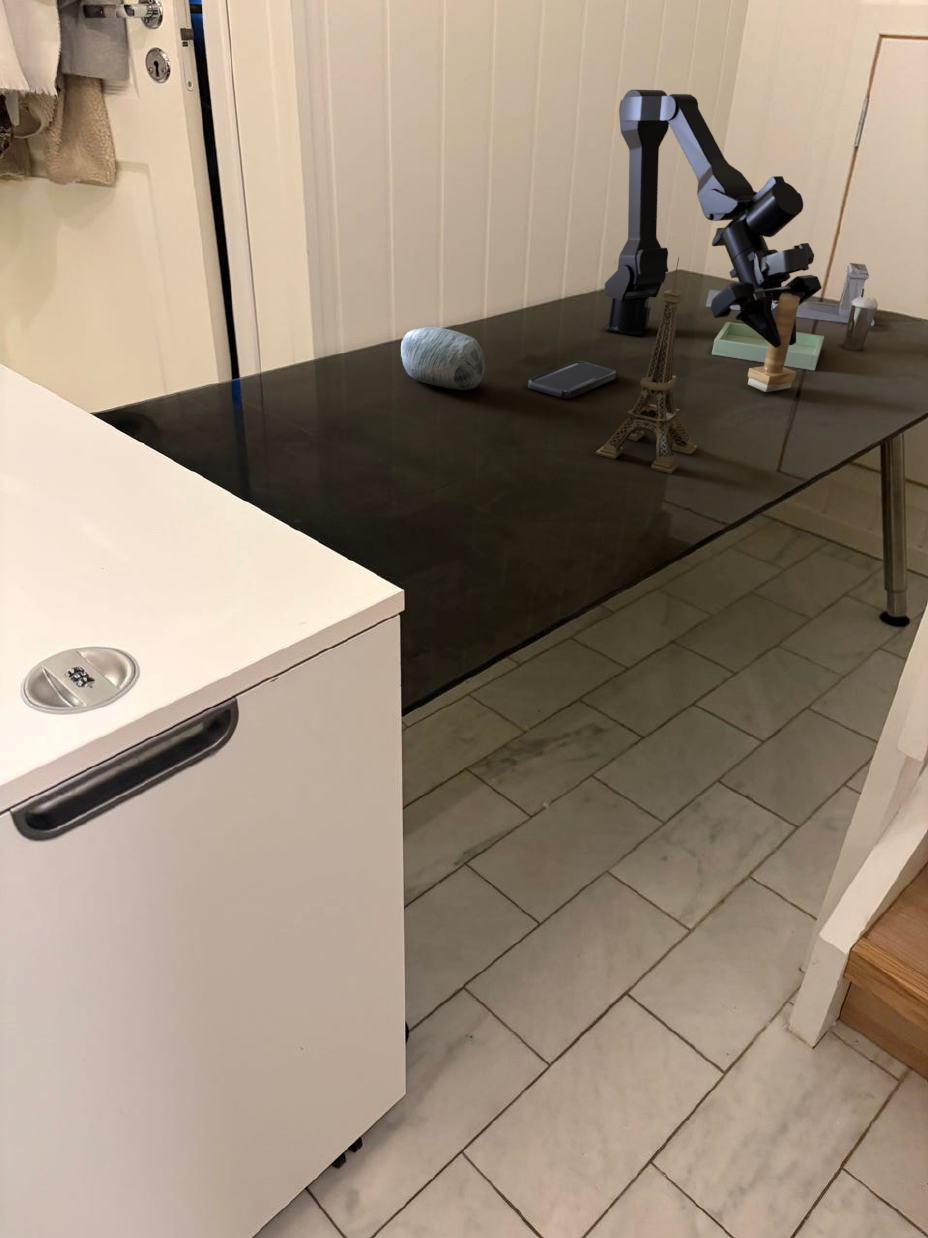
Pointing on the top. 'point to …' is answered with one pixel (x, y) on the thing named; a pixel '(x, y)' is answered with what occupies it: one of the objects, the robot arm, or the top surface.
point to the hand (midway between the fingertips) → (785, 344)
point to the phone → (572, 379)
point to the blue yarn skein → (443, 358)
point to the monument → (827, 310)
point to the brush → (777, 350)
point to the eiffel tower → (665, 411)
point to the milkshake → (859, 321)
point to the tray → (766, 346)
